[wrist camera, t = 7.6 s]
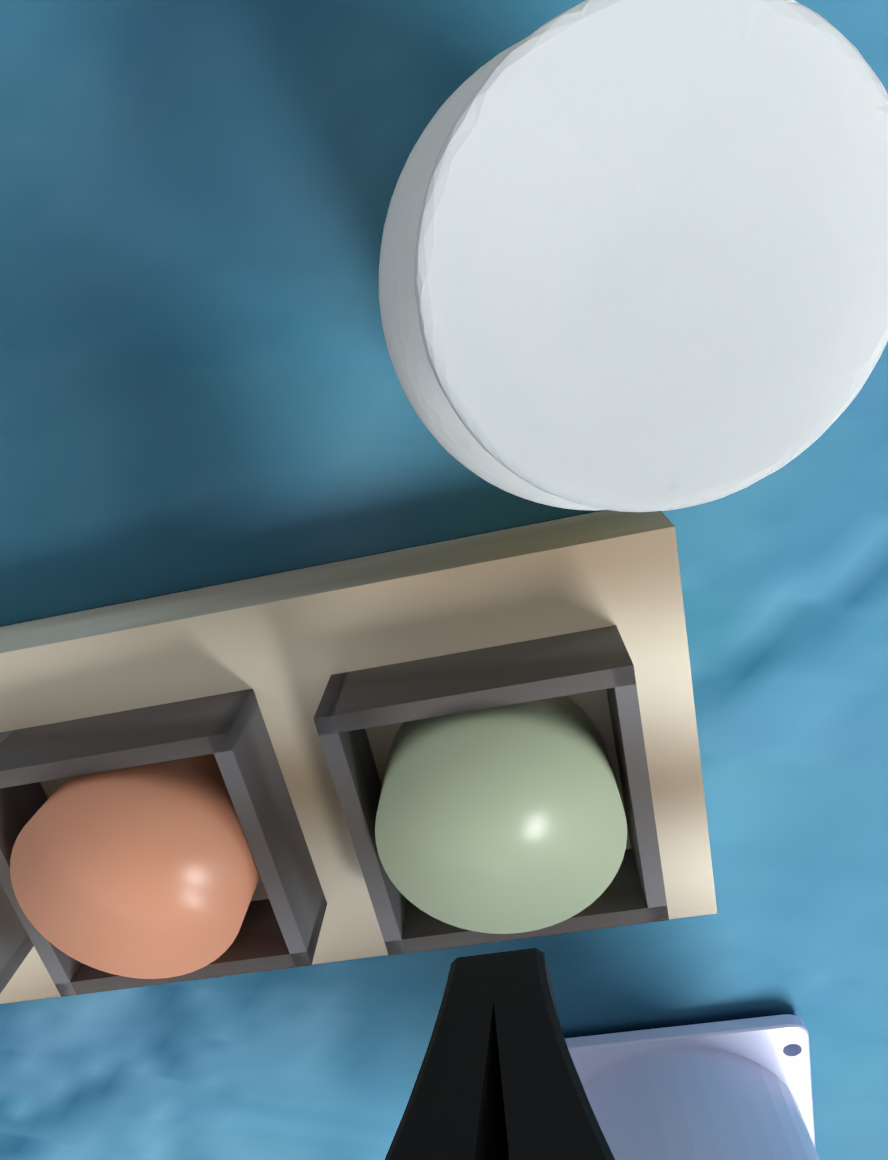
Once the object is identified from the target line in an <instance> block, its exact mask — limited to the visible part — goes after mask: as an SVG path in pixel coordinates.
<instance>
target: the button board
mask: <svg viewBox="0 0 888 1160" xmlns="http://www.w3.org/2000/svg"><path fill="white" fill-rule="evenodd" d="M560 696H564V697H565V698H567V699H568V700H570V701H571V702H573V703H574V704H575V705H576V706H578V707H579V708H580V709H581V710H582V711H583V712H584V713H585V714H586V715H587V716H588V717H589V719H590V720H591V721H592V722H593V724H594V725H595V727H596V728H597V730H598V731H599V733H600V735H601V737H602V739H603V742H604V744H605V746H606V749H607V753H608V756H609V760H610V763H611V767H612V770H613V773H614V777H615V780H616V784H617V787H618V791H619V794H620V797H621V801H622V804H623V808H624V812H625V816H626V822H627V843H626V849H625V853H624V857H623V861H622V863H621V865H620V868H619V870H618V872H617V874H616V876H615V877H614V879H613V880H612V882H611V884H610V885H609V886H608V887H607V889H606V890H605V891H604V892H603V893H602V895H601V896H599V897H598V898H597V899H596V900H595V901H594V902H593V903H592V904H591V905H589V906H588V907H586V908H585V909H584V910H582V911H581V912H579V913H578V914H576V915H574V916H572V917H571V918H569V919H567V920H565V921H562V922H560V923H557V924H555V925H553V926H549V927H546V928H542V929H539V930H535V931H529V932H523V933H512V934H490V933H482V932H475V931H470V930H466V929H462V928H458V927H455V926H453V925H450V924H447V923H444V922H442V921H440V920H438V919H436V918H434V917H432V916H430V915H428V914H427V913H425V912H423V911H422V910H420V909H419V908H418V907H416V906H415V905H414V904H412V903H411V902H410V901H409V900H408V899H407V898H406V897H405V896H404V895H403V894H402V893H401V892H400V891H399V890H398V889H397V888H396V887H395V885H394V884H393V883H392V881H391V880H390V878H389V877H388V875H387V873H386V871H385V870H384V868H383V865H382V863H381V860H380V858H379V855H378V850H377V846H376V839H375V823H376V815H377V810H378V805H379V800H380V795H381V790H382V785H383V780H384V775H385V770H386V765H387V760H388V756H389V752H390V748H391V745H392V742H393V740H394V738H395V735H396V733H397V732H398V730H399V728H400V727H401V725H402V724H403V722H408V721H414V720H420V719H426V718H432V717H438V716H444V715H450V714H456V713H463V712H469V711H475V710H481V709H487V708H493V707H499V706H505V705H511V704H517V703H523V702H529V701H536V700H542V699H548V698H554V697H560ZM207 754H213V755H214V756H215V758H216V761H217V763H218V766H219V769H220V771H221V774H222V777H223V779H224V782H225V784H226V787H227V790H228V792H229V795H230V798H231V800H232V803H233V806H234V808H235V811H236V813H237V816H238V819H239V821H240V824H241V827H242V829H243V832H244V835H245V837H246V840H247V842H248V845H249V848H250V850H251V853H252V856H253V858H254V861H255V864H256V866H257V869H258V871H259V874H260V878H259V881H258V883H257V886H256V888H255V891H254V894H253V896H252V899H251V901H250V904H249V907H248V909H247V912H246V914H245V917H244V920H243V922H242V925H241V927H240V930H239V933H238V935H237V936H236V938H235V940H234V941H233V943H232V944H231V945H230V947H229V948H228V949H227V950H226V951H225V952H224V953H223V954H222V955H221V956H220V957H219V958H217V959H216V960H215V961H213V962H212V963H210V964H208V965H207V966H205V967H203V968H201V969H198V970H196V971H194V972H191V973H188V974H184V975H181V976H176V977H170V978H161V979H138V978H130V977H123V976H119V975H114V974H110V973H107V972H104V971H101V970H97V969H95V968H92V967H90V966H88V965H85V964H83V963H81V962H79V961H77V960H75V959H73V958H72V957H70V956H68V955H67V954H65V953H64V952H62V951H61V950H59V949H58V948H56V947H55V946H54V945H53V944H51V943H50V942H49V941H48V940H46V939H45V938H44V937H43V936H42V935H41V934H40V933H39V932H38V931H37V930H36V929H35V927H34V926H33V925H32V923H31V922H30V921H29V920H28V918H27V917H26V915H25V914H24V912H23V910H22V909H21V907H20V905H19V903H18V901H17V898H16V896H15V894H14V890H13V887H12V883H11V876H10V858H11V854H12V849H13V846H14V844H15V841H16V839H17V836H18V835H19V833H20V832H21V830H22V829H23V827H24V826H25V825H26V824H27V822H28V821H29V820H30V819H31V818H32V817H33V816H34V815H35V813H36V812H37V811H38V810H39V809H40V808H41V807H42V805H43V804H44V803H45V802H46V801H47V800H48V799H49V797H50V796H51V795H52V794H53V793H54V792H55V791H56V789H57V788H58V787H59V786H60V785H61V784H62V783H63V782H64V780H65V779H66V778H67V777H73V776H79V775H85V774H91V773H97V772H103V771H110V770H116V769H122V768H128V767H134V766H140V765H146V764H152V763H158V762H164V761H170V760H176V759H183V758H189V757H195V756H201V755H207ZM716 913H717V907H716V898H715V889H714V880H713V870H712V861H711V852H710V843H709V834H708V825H707V816H706V807H705V797H704V788H703V779H702V770H701V761H700V752H699V743H698V734H697V724H696V715H695V706H694V697H693V688H692V679H691V670H690V660H689V651H688V642H687V633H686V624H685V615H684V606H683V597H682V587H681V578H680V569H679V560H678V551H677V542H676V533H675V526H674V525H673V524H672V523H671V522H670V521H669V519H668V518H667V517H666V516H665V515H664V514H663V513H662V512H661V511H655V512H620V511H613V510H604V511H598V512H593V513H588V514H583V515H578V516H573V517H567V518H562V519H557V520H552V521H547V522H541V523H536V524H531V525H526V526H521V527H515V528H510V529H505V530H500V531H495V532H490V533H484V534H479V535H474V536H469V537H464V538H458V539H453V540H448V541H443V542H438V543H432V544H427V545H422V546H417V547H412V548H407V549H401V550H396V551H391V552H386V553H381V554H375V555H370V556H365V557H360V558H355V559H349V560H344V561H339V562H334V563H329V564H324V565H318V566H313V567H308V568H303V569H298V570H292V571H287V572H282V573H277V574H272V575H267V576H261V577H256V578H251V579H246V580H241V581H235V582H230V583H225V584H220V585H215V586H209V587H204V588H199V589H194V590H189V591H184V592H178V593H173V594H168V595H163V596H158V597H152V598H147V599H142V600H137V601H132V602H126V603H121V604H116V605H111V606H106V607H101V608H95V609H90V610H85V611H80V612H75V613H69V614H64V615H59V616H54V617H49V618H43V619H38V620H33V621H28V622H23V623H18V624H12V625H7V626H2V627H0V1004H3V1003H11V1002H19V1001H27V1000H35V999H43V998H51V997H59V996H61V997H63V996H70V995H78V994H86V993H94V992H102V991H110V990H118V989H126V988H134V987H142V986H150V985H158V984H166V983H173V982H181V981H189V980H197V979H205V978H213V977H221V976H229V975H237V974H245V973H253V972H261V971H269V970H276V969H284V968H292V967H300V966H308V965H312V964H320V963H328V962H336V961H344V960H351V959H359V958H367V957H375V956H383V955H395V954H403V953H411V952H419V951H427V950H435V949H443V948H451V947H459V946H467V945H474V944H482V943H490V942H498V941H506V940H514V939H522V938H530V937H538V936H546V935H554V934H562V933H570V932H577V931H585V930H593V929H601V928H609V927H617V926H625V925H633V924H641V923H649V922H657V921H665V920H669V919H676V918H684V917H692V916H700V915H708V914H716Z"/></svg>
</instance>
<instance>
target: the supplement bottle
mask: <svg viewBox="0 0 888 1160" xmlns="http://www.w3.org/2000/svg"><path fill="white" fill-rule="evenodd" d="M379 303H380V312H381V321H382V327H383V331H384V336H385V341H386V345H387V349H388V352H389V355H390V358H391V361H392V364H393V367H394V370H395V373H396V375H397V377H398V380H399V382H400V384H401V386H402V388H403V391H404V393H405V395H406V396H407V398H408V400H409V401H410V403H411V405H412V407H413V408H414V410H415V412H416V413H417V415H418V416H419V418H420V419H421V421H422V422H423V423H424V425H425V426H426V428H427V429H428V430H429V431H430V432H431V434H432V435H433V436H434V437H435V438H436V440H437V441H438V442H439V443H440V444H441V445H442V446H443V447H444V449H445V450H447V451H448V452H449V453H450V454H451V455H452V456H453V457H454V458H456V459H457V460H458V461H459V462H460V463H462V464H463V465H464V466H465V467H467V468H468V469H469V470H471V471H472V472H473V473H475V474H476V475H478V476H479V477H481V478H482V479H484V480H485V481H487V482H489V483H490V484H492V485H494V486H496V487H498V488H500V489H502V490H504V491H506V492H508V493H511V494H514V495H516V496H519V497H521V498H524V499H527V500H530V501H533V502H537V503H540V504H545V505H549V506H553V507H559V508H565V509H574V510H596V511H598V510H613V511H620V512H655V511H665V510H674V509H680V508H686V507H691V506H695V505H699V504H703V503H707V502H710V501H713V500H717V499H720V498H723V497H725V496H727V495H730V494H732V493H734V492H737V491H739V490H741V489H744V488H746V487H748V486H750V485H751V484H753V483H755V482H757V481H759V480H760V479H762V478H764V477H766V476H767V475H769V474H771V473H773V472H775V471H777V470H778V469H780V468H782V467H783V466H784V465H786V464H787V463H789V462H790V461H791V460H793V459H794V458H796V457H797V456H798V455H799V454H800V453H802V452H803V451H804V450H805V449H807V448H808V447H809V446H810V445H811V444H812V443H814V442H815V441H816V440H817V439H818V438H819V437H820V436H821V435H822V434H823V433H824V432H825V431H826V430H827V429H828V428H829V427H830V426H831V424H832V423H833V422H834V421H835V420H836V419H837V418H838V417H839V416H840V415H841V414H842V413H843V412H844V410H845V409H846V408H847V407H848V406H849V404H850V403H851V402H852V400H853V399H854V398H855V397H856V395H857V394H858V393H859V391H860V390H861V388H862V386H863V385H864V383H865V382H866V380H867V378H868V377H869V375H870V373H871V372H872V370H873V368H874V367H875V365H876V363H877V361H878V360H879V358H880V356H881V354H882V352H883V350H884V347H885V345H886V343H887V341H888V94H887V92H886V90H885V88H884V86H883V84H882V83H881V82H880V80H879V79H878V77H877V76H876V74H875V73H874V72H873V70H872V69H871V68H870V66H869V65H868V64H867V62H866V61H865V59H864V58H863V57H862V55H861V54H860V53H859V51H858V50H857V48H856V47H854V46H853V45H852V44H851V43H850V42H849V41H848V40H847V39H846V38H845V37H844V36H843V35H842V34H841V33H840V32H839V31H838V30H837V29H836V28H835V27H833V26H832V25H831V24H830V23H829V22H828V21H827V20H825V19H824V18H823V17H822V16H820V15H819V14H817V13H816V12H814V11H812V10H811V9H809V8H807V7H806V6H804V5H802V4H800V3H798V2H796V1H795V0H585V1H583V2H581V3H580V4H578V5H576V6H574V7H572V8H571V9H569V10H567V11H565V12H563V13H561V14H560V15H558V16H556V17H555V18H553V19H551V20H550V21H548V22H547V23H545V24H544V25H542V26H541V27H540V28H538V29H537V30H536V31H535V32H533V33H532V34H531V35H530V36H528V37H526V38H525V39H523V40H521V41H519V42H518V43H516V44H514V45H513V46H511V47H509V48H507V49H506V50H504V51H502V52H500V53H499V54H498V55H496V56H495V57H494V58H492V59H491V60H490V61H489V62H487V63H486V64H485V65H483V66H482V67H481V68H479V69H478V70H477V71H476V72H475V73H474V74H473V75H471V76H470V77H469V78H468V79H467V80H466V81H465V82H463V83H462V84H461V85H460V86H459V88H458V89H457V90H456V91H455V92H454V93H453V94H452V95H451V96H450V97H449V98H448V99H447V100H446V101H445V103H444V104H443V105H442V106H441V107H440V109H439V110H438V111H437V112H436V114H435V115H434V117H433V118H432V119H431V121H430V122H429V124H428V125H427V126H426V128H425V129H424V131H423V133H422V134H421V136H420V138H419V139H418V141H417V143H416V144H415V146H414V148H413V150H412V151H411V153H410V155H409V157H408V159H407V161H406V164H405V166H404V168H403V170H402V172H401V174H400V177H399V179H398V182H397V184H396V187H395V190H394V192H393V195H392V198H391V201H390V205H389V209H388V213H387V217H386V221H385V224H384V229H383V236H382V243H381V251H380V262H379Z"/></svg>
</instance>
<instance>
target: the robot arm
mask: <svg viewBox="0 0 888 1160" xmlns="http://www.w3.org/2000/svg"><path fill="white" fill-rule="evenodd" d="M385 1160H820V1159H819V1156H818V1154H817V1151H816V1149H815V1134H814V1117H813V1100H812V1083H811V1065H810V1048H809V1034H808V1031H807V1029H806V1027H805V1024H804V1022H803V1020H802V1019H801V1018H799V1017H798V1016H795V1015H792V1014H783V1015H774V1016H764V1017H755V1018H746V1019H737V1020H728V1021H719V1022H710V1023H700V1024H691V1025H682V1026H673V1027H664V1028H655V1029H646V1030H636V1031H627V1032H618V1033H609V1034H600V1035H591V1036H581V1037H572V1038H564V1035H563V1032H562V1029H561V1026H560V1023H559V1019H558V1014H557V1010H556V1005H555V1001H554V996H553V992H552V987H551V983H550V978H549V974H548V969H547V964H546V960H545V955H544V953H543V952H541V951H539V950H538V949H536V948H533V949H524V950H516V951H508V952H500V953H492V954H484V955H476V956H468V957H460V958H456V959H455V961H454V962H453V963H452V964H451V967H450V972H449V976H448V981H447V985H446V988H445V992H444V996H443V1000H442V1003H441V1007H440V1010H439V1013H438V1017H437V1020H436V1023H435V1027H434V1030H433V1033H432V1036H431V1039H430V1042H429V1045H428V1048H427V1051H426V1054H425V1057H424V1060H423V1063H422V1065H421V1068H420V1071H419V1074H418V1077H417V1079H416V1082H415V1085H414V1088H413V1090H412V1093H411V1096H410V1099H409V1102H408V1104H407V1107H406V1109H405V1112H404V1115H403V1117H402V1120H401V1122H400V1124H399V1127H398V1129H397V1132H396V1134H395V1136H394V1139H393V1141H392V1144H391V1146H390V1148H389V1151H388V1153H387V1156H386V1158H385Z"/></svg>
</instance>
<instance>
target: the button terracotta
mask: <svg viewBox="0 0 888 1160" xmlns="http://www.w3.org/2000/svg"><path fill="white" fill-rule="evenodd" d="M10 876H11V883H12V887H13V890H14V894H15V896H16V898H17V901H18V903H19V905H20V907H21V909H22V910H23V912H24V914H25V915H26V917H27V918H28V920H29V921H30V922H31V923H32V925H33V926H34V927H35V929H36V930H37V931H38V932H39V933H40V934H41V935H42V936H43V937H44V938H45V939H46V940H48V941H49V942H50V943H51V944H53V945H54V946H55V947H56V948H58V949H59V950H61V951H62V952H64V953H65V954H67V955H68V956H70V957H72V958H73V959H75V960H77V961H79V962H81V963H83V964H85V965H88V966H90V967H92V968H95V969H97V970H101V971H104V972H107V973H110V974H114V975H119V976H123V977H130V978H138V979H161V978H170V977H176V976H181V975H184V974H188V973H191V972H194V971H196V970H198V969H201V968H203V967H205V966H207V965H208V964H210V963H212V962H213V961H215V960H216V959H217V958H219V957H220V956H221V955H222V954H223V953H224V952H225V951H226V950H227V949H228V948H229V947H230V945H231V944H232V943H233V941H234V940H235V938H236V936H237V935H238V933H239V930H240V927H241V925H242V922H243V920H244V917H245V914H246V912H247V909H248V907H249V904H250V901H251V899H252V896H253V894H254V891H255V888H256V886H257V883H258V881H259V878H260V874H259V871H258V869H257V866H256V864H255V861H254V858H253V856H252V853H251V850H250V848H249V845H248V842H247V840H246V837H245V835H244V832H243V829H242V827H241V824H240V821H239V819H238V816H237V813H236V811H235V808H234V806H233V803H232V800H231V798H230V795H229V792H228V790H227V787H226V784H225V782H224V779H223V777H222V774H221V771H220V769H219V766H218V763H217V761H216V758H215V756H214V755H213V754H207V755H201V756H195V757H189V758H183V759H176V760H170V761H164V762H158V763H152V764H146V765H140V766H134V767H128V768H122V769H116V770H110V771H103V772H97V773H91V774H85V775H79V776H73V777H67V778H66V779H65V780H64V782H63V783H62V784H61V785H60V786H59V787H58V788H57V789H56V791H55V792H54V793H53V794H52V795H51V796H50V797H49V799H48V800H47V801H46V802H45V803H44V804H43V805H42V807H41V808H40V809H39V810H38V811H37V812H36V813H35V815H34V816H33V817H32V818H31V819H30V820H29V821H28V822H27V824H26V825H25V826H24V827H23V829H22V830H21V832H20V833H19V835H18V836H17V839H16V841H15V844H14V846H13V849H12V854H11V858H10Z"/></svg>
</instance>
